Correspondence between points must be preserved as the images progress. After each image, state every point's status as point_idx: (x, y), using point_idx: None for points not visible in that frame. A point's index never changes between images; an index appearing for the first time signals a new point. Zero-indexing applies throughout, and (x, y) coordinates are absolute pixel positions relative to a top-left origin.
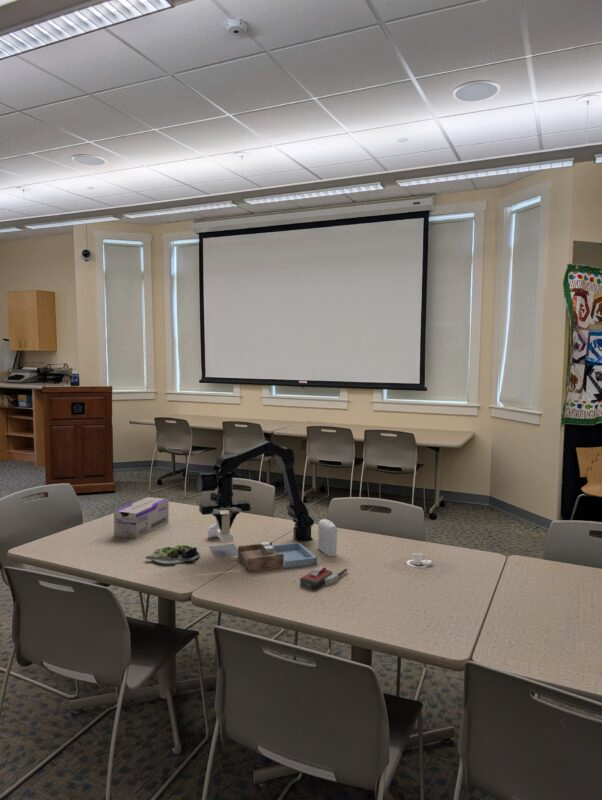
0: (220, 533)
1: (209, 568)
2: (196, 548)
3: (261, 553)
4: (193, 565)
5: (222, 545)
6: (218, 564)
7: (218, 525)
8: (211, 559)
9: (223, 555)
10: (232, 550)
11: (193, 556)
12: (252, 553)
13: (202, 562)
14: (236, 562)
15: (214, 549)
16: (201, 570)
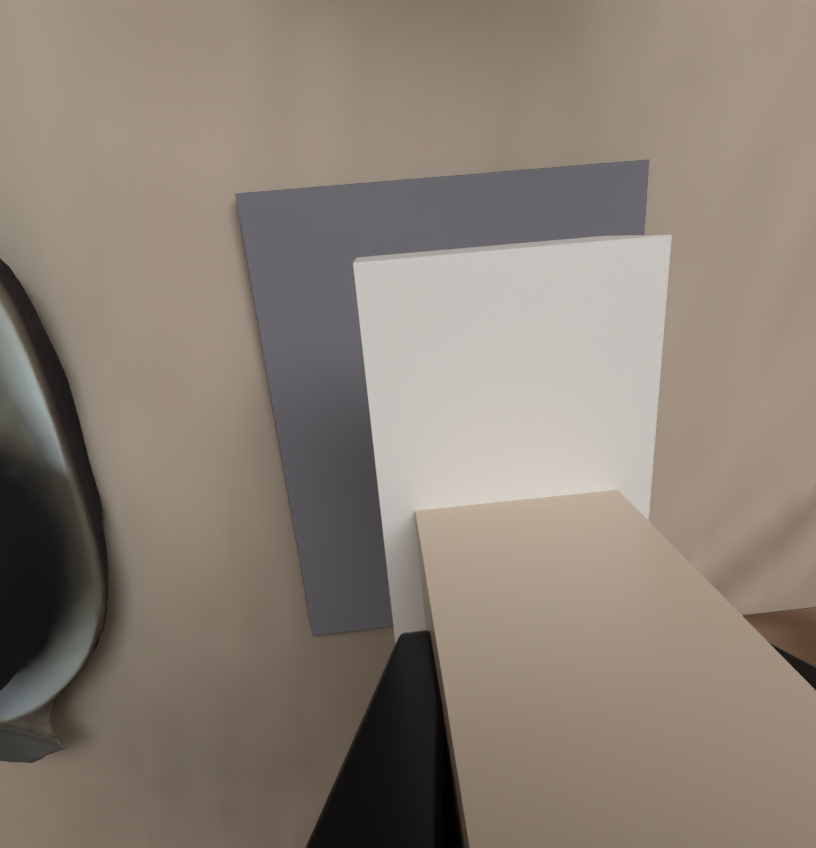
0: (406, 619)
1: (235, 818)
2: (3, 618)
3: None
4: (69, 741)
5: (462, 192)
6: (327, 753)
7: (361, 723)
8: (263, 629)
9: None
10: None
11: (21, 668)
12: None
13: (162, 687)
14: None
15: (318, 350)
16: (160, 844)
